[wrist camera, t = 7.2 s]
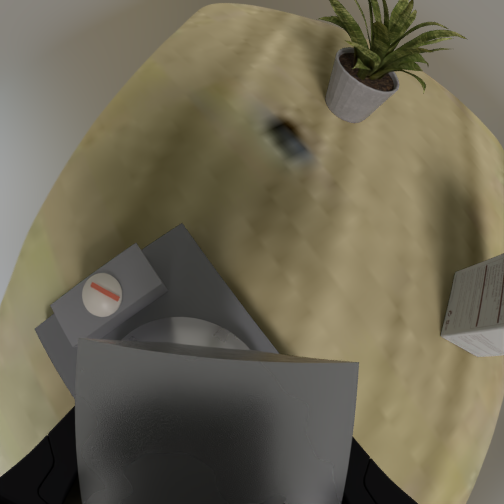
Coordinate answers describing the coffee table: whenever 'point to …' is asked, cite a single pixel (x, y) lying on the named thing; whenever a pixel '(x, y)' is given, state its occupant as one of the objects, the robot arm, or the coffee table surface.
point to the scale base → (178, 303)
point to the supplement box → (477, 309)
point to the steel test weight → (210, 425)
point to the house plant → (375, 58)
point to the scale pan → (186, 333)
